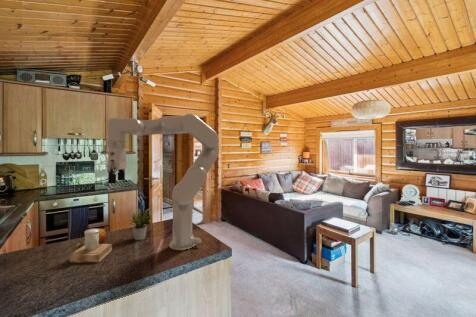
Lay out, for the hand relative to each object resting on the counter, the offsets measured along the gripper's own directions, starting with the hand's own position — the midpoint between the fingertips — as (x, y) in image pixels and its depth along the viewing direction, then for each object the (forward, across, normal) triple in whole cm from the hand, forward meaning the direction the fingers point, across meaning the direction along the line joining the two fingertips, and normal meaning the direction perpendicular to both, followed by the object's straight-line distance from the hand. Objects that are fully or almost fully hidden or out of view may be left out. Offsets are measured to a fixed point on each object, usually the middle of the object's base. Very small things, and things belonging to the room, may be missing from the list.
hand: (116, 181), depth 116 cm
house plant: (+32, +15, -7) cm, 36 cm away
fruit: (+33, +8, +13) cm, 36 cm away
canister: (+29, -7, +8) cm, 31 cm away
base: (+32, -7, +8) cm, 34 cm away
